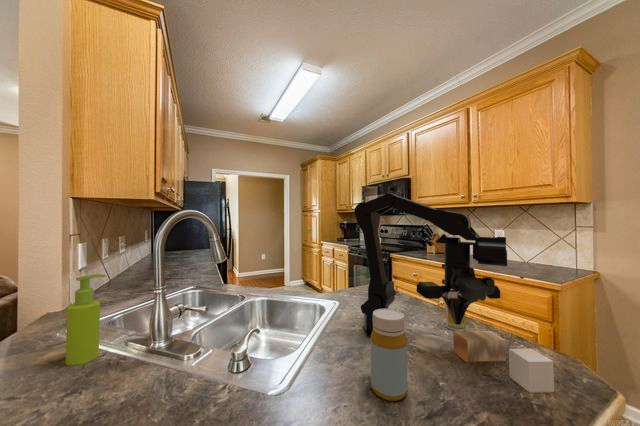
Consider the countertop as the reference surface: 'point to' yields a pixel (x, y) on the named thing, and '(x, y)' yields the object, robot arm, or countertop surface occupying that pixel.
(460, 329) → the supplement bottle
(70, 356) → the soap dispenser
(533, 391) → the grey block
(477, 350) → the birch block
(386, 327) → the bottle
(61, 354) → the countertop surface
